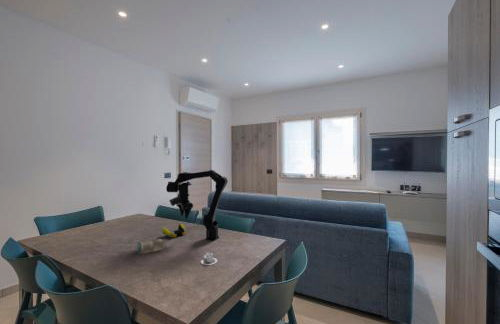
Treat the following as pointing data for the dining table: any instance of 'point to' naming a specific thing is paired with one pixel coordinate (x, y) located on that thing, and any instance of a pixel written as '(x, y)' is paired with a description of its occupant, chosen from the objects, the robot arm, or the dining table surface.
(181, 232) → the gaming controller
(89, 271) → the dining table surface
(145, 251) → the birch block
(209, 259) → the teacup and saucer
